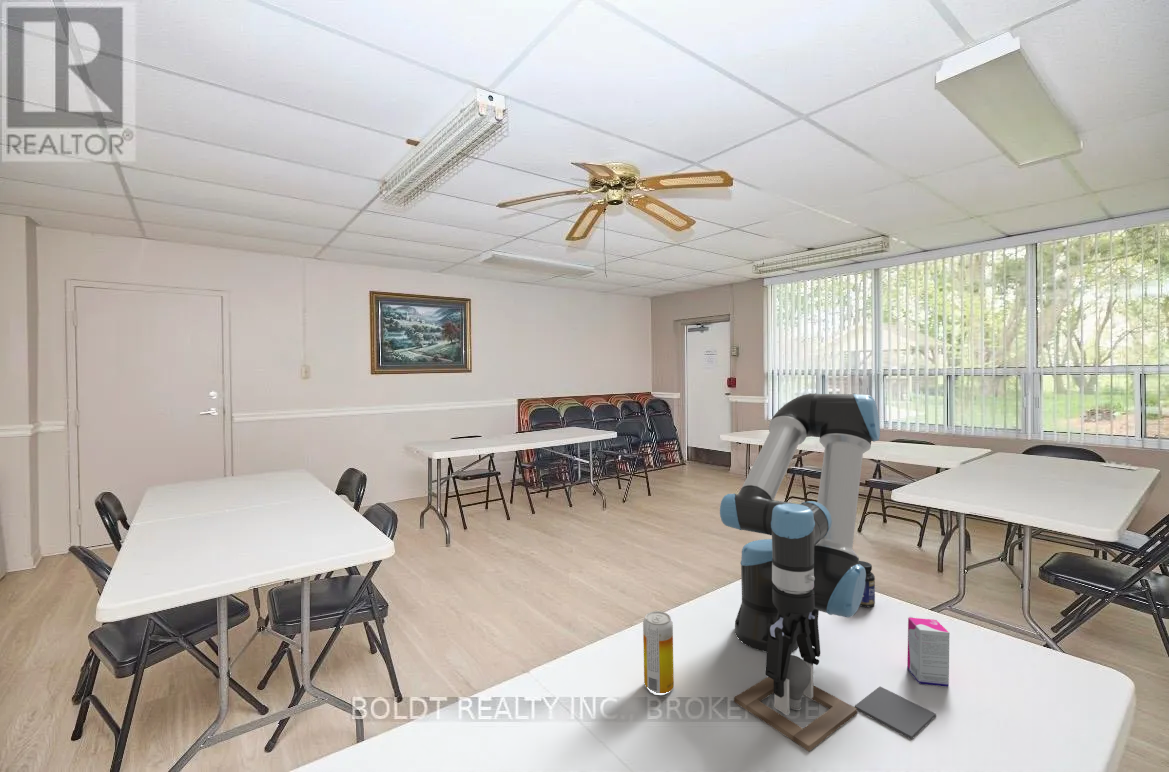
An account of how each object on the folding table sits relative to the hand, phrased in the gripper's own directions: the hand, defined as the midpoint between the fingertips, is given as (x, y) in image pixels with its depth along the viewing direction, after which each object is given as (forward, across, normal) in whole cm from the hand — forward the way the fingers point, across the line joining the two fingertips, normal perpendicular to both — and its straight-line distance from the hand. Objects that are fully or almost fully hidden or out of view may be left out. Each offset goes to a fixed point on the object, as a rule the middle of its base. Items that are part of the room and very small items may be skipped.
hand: (794, 702), depth 97 cm
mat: (+1, +14, -12) cm, 18 cm away
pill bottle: (+1, +54, +14) cm, 56 cm away
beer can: (+1, -17, +20) cm, 26 cm away
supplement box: (+1, +31, -11) cm, 33 cm away
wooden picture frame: (+1, 0, 0) cm, 1 cm away
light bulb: (+1, 0, 0) cm, 1 cm away
